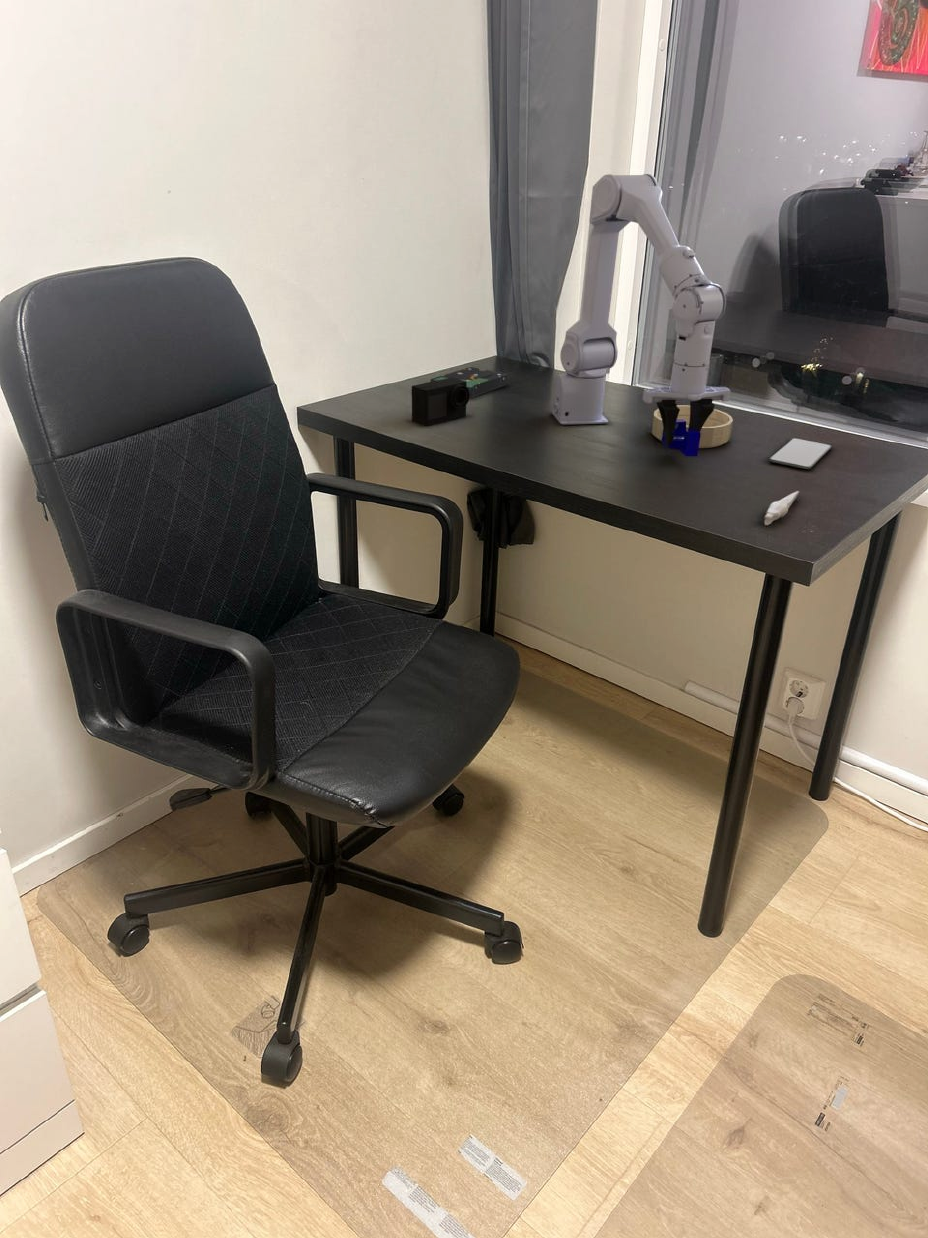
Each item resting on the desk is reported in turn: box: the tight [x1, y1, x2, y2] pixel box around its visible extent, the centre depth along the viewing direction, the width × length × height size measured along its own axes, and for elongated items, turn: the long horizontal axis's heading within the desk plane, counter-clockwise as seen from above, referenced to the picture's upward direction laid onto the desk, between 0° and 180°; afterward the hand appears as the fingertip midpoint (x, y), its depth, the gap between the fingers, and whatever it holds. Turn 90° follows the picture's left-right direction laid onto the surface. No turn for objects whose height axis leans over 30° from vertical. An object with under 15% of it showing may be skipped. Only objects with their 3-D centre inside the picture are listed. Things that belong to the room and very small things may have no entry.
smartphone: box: [769, 437, 832, 470], centre depth 156 cm, size 7×1×15 cm
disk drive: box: [430, 366, 509, 399], centre depth 190 cm, size 10×3×15 cm
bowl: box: [651, 404, 734, 449], centre depth 163 cm, size 14×14×4 cm
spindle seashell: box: [763, 490, 800, 526], centre depth 133 cm, size 15×3×2 cm, turn 144°
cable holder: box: [660, 419, 701, 457], centre depth 151 cm, size 8×4×4 cm, turn 9°
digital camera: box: [411, 378, 470, 427], centre depth 169 cm, size 10×5×7 cm, turn 131°
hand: (679, 442), depth 151 cm, fingers closed on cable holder, 3 cm apart
